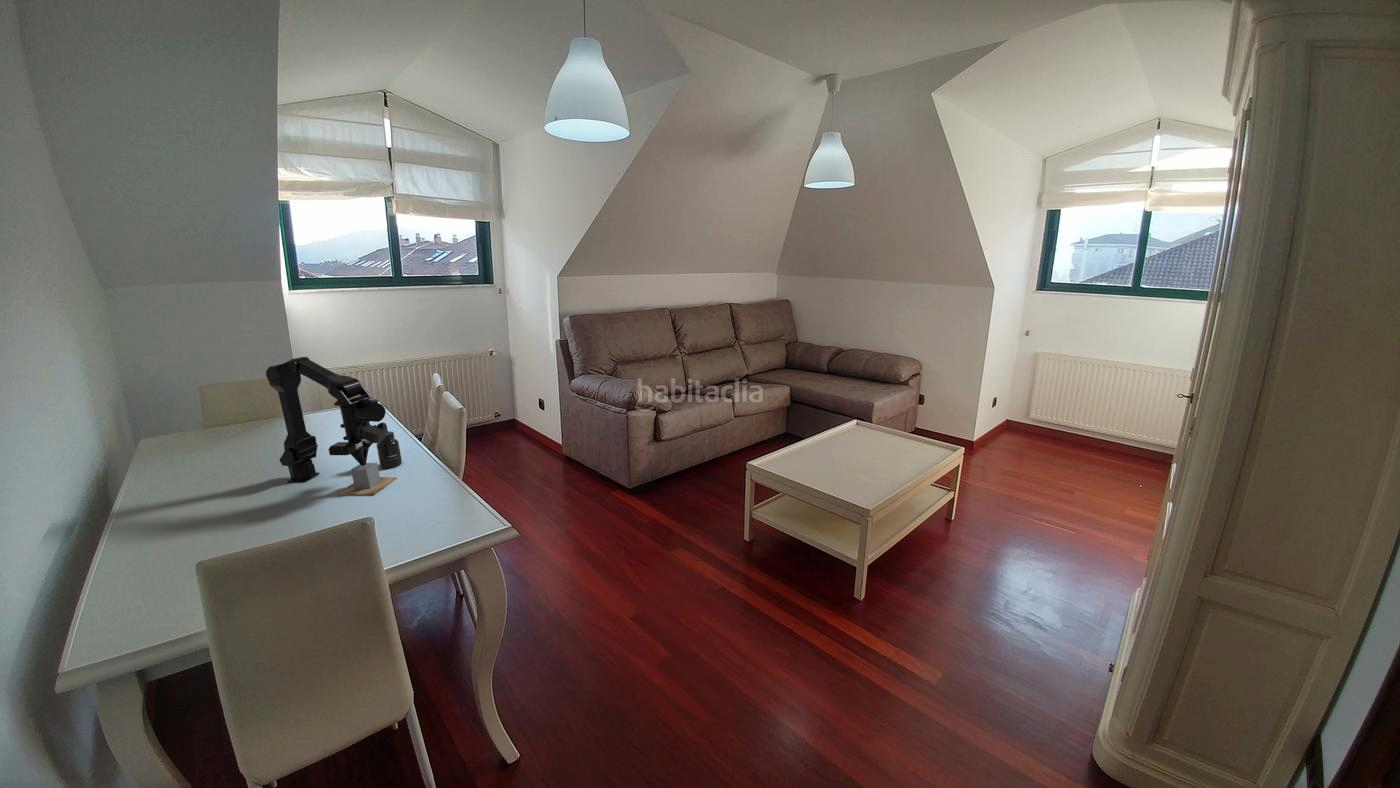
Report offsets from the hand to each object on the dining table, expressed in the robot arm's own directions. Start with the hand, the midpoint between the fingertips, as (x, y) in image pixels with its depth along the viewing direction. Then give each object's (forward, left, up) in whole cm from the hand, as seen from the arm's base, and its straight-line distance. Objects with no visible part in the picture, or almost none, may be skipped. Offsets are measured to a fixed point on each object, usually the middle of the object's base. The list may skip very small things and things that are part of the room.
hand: (363, 465), depth 172 cm
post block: (0, 0, -8) cm, 8 cm away
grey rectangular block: (0, 0, -7) cm, 7 cm away
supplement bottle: (-3, +17, -8) cm, 19 cm away
